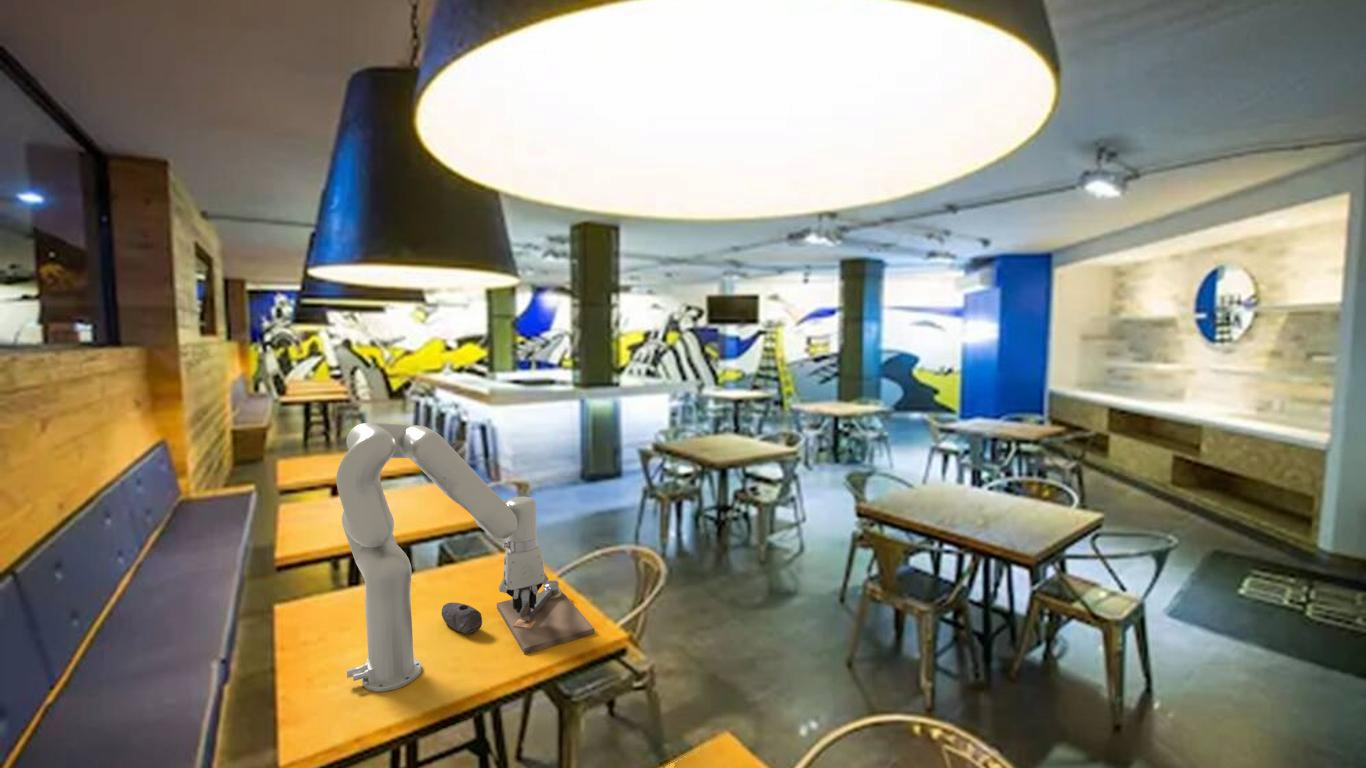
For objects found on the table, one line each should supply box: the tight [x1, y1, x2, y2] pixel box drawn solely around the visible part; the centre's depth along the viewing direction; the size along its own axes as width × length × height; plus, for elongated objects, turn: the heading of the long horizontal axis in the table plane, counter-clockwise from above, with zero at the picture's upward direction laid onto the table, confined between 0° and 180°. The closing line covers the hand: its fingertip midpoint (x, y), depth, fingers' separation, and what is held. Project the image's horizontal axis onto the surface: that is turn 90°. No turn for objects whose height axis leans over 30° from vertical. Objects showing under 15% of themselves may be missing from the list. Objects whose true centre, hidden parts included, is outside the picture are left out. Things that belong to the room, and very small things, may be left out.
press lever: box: [518, 580, 560, 621], centre depth 170 cm, size 4×22×11 cm, turn 170°
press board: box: [496, 587, 595, 655], centre depth 167 cm, size 19×28×2 cm
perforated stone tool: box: [441, 602, 483, 635], centre depth 162 cm, size 15×5×7 cm, turn 54°
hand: (524, 608), depth 161 cm, fingers closed on press lever, 3 cm apart
